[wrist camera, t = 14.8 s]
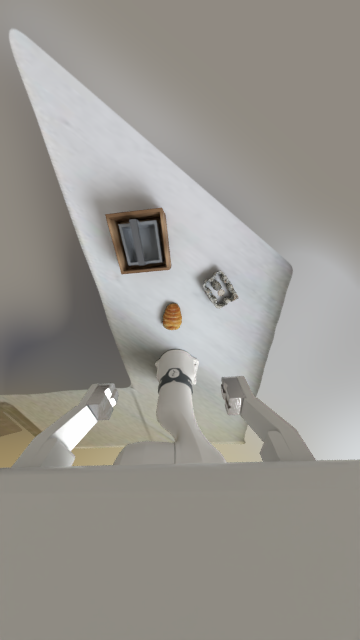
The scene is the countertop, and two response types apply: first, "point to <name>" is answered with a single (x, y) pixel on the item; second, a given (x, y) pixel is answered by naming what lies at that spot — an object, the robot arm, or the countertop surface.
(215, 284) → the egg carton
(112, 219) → the big crate
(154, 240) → the small crate
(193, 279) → the countertop surface
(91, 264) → the countertop surface
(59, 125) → the countertop surface
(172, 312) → the pastry
